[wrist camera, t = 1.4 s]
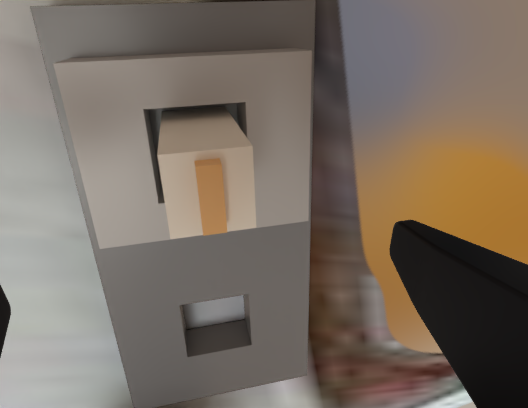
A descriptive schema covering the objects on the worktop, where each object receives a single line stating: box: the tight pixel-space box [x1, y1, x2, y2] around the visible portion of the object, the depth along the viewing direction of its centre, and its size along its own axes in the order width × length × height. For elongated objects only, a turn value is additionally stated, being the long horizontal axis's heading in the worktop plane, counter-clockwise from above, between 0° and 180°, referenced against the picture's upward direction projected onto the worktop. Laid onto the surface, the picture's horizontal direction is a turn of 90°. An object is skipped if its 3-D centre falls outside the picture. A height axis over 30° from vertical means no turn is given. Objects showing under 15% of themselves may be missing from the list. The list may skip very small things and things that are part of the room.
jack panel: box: [30, 0, 316, 408], centre depth 21 cm, size 24×12×5 cm, turn 2°
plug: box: [157, 107, 256, 239], centre depth 16 cm, size 3×3×8 cm
